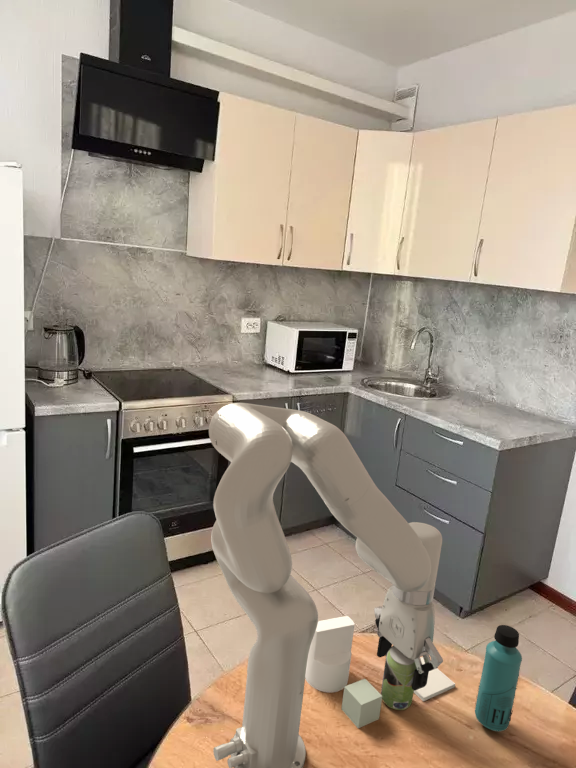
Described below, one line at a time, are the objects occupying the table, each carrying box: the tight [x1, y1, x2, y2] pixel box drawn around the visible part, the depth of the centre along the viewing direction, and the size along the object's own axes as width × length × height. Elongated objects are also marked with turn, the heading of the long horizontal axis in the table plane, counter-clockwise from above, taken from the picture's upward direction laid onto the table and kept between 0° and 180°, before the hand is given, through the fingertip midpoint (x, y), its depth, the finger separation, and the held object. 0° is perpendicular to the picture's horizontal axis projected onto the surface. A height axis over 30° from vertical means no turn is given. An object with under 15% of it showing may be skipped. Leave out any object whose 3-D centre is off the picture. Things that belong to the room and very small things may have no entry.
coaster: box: [413, 656, 456, 702], centre depth 115 cm, size 9×9×1 cm
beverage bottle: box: [474, 624, 523, 732], centre depth 103 cm, size 6×7×20 cm
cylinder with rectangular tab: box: [305, 615, 355, 693], centre depth 112 cm, size 9×9×12 cm
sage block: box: [341, 678, 383, 729], centre depth 104 cm, size 5×5×5 cm
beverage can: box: [380, 645, 417, 711], centre depth 106 cm, size 6×7×12 cm
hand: (400, 670), depth 106 cm, fingers open, 9 cm apart
